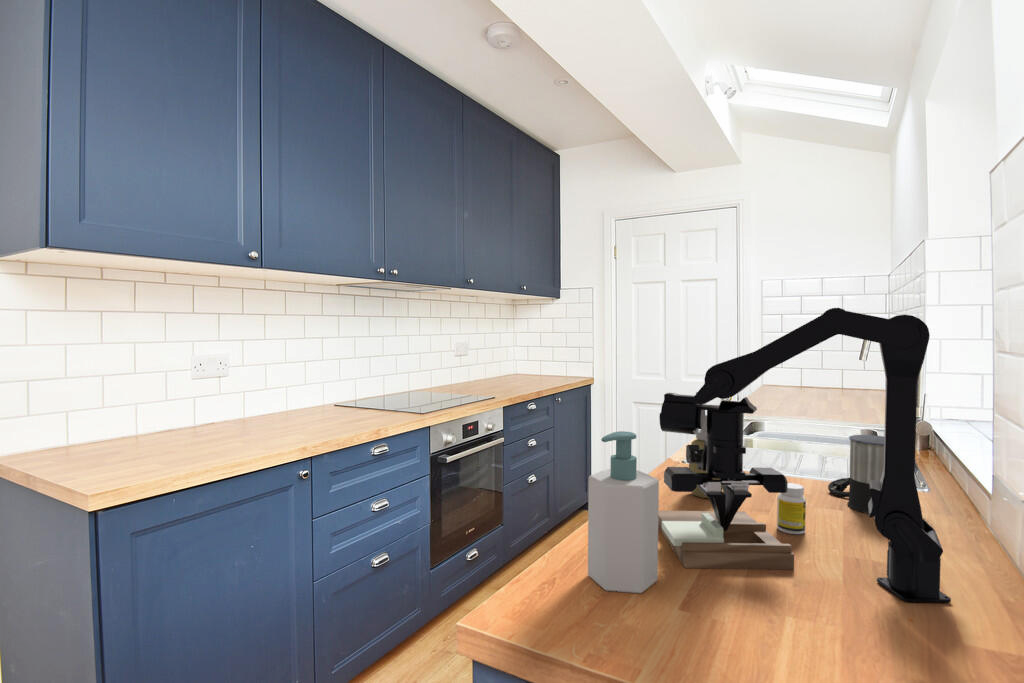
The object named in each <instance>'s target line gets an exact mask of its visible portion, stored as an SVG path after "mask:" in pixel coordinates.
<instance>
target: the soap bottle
mask: <svg viewBox="0 0 1024 683" xmlns="http://www.w3.org/2000/svg"><path fill="white" fill-rule="evenodd" d="M636 439H637V434H636V433H635V432H632V431H631V432H630V431H623V430H622V431H620V430H619V431H614V432H611V433H609V434H607V435H604V436H603V437H602V438H601V439H600V440H601V442H603V443H608V442H613V441H615V454H612V455H610V469H609V468H605V469H603V470H600V471H598V472H596V473H593V474H591V475H589V476H588V501H587V502H588V503H587V504H588V506H587V508H588V509H587V511H588V512H587V516H588V518H587V520H588V522H587V527H588V528H587V542H588V543H587V575H588V577H589V578H590V579H592V580H593V581H594V582H595V583H596V584H598V585H599V586H600V587H601V588H602V589H603V590H604V591H606V592H616V591H617V592H618V593H629V594H630V593H631V594H642V593H643V592H644V591H646V590H647V589H648V588H649V587H651V586H653V584H654V583H656V582H657V581H658V578H659V577H658V575H659V572H658V570H659V569H658V567H659V565H658V564H659V562H658V560H659V559H658V558H659V528H658V511H659V506H660V504H659V500H660V499H659V497H660V494H659V493H660V491H659V490H660V489H659V488H660V487H659V486H660V483H659V482H660V481H659V479H658V478H656V477H654V476H652V475H650V474H647V473H646V472H643V471H640V470H637V458H638V457H637V456H636V455H632V440H636Z"/></svg>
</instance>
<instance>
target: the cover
mask: <svg viewBox="0 0 1024 683" xmlns="http://www.w3.org/2000/svg"><path fill="white" fill-rule="evenodd" d="M662 529H663V531H664V532H665V534H666V535H667V537H668V538H669V540H670V541H671V543H672V544H673V546H682V542H687V543H724V539H723V528H722V527H721V525H720V524H719V523H718V522H717V521H716V520H715V519H714V518H713V517H712V516H711V515H710V514H709V513H702V521H662Z"/></svg>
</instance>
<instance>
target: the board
mask: <svg viewBox="0 0 1024 683" xmlns="http://www.w3.org/2000/svg"><path fill="white" fill-rule="evenodd" d="M702 513H709V514H710V515H711V516H712V517H713V518H714V519H715V520H716V521H717V519H716V516H715V513H714V510H658V530H659V531H660V533H661V534H662V535H663V537H664V539H665V538H666V539H665V540H666V542H667V541H668V542H667V543H668V544H670V545H669V546H670V548H671V549H672V551H673V552H674V554H675V555H676V557H677V558H678V559H679V562H680V563H681V564H682V566H683V567H684V569H725V570H727V569H730V570H731V569H733V570H735V569H736V570H741V569H742V570H746V569H747V570H795V553H793V552H792V550H793V549H792V548H793V546H792V545H791V544H790V543H781V541H779V540H778V539H777V538H776V537H775V536H774V535H772V534H771V533H770V532H769V531H768V530H767V524H766V523H765V522H757V520H755V519H754V518H753V517H752V516H750V515H749V514H748V513H747V512H746V511H739V510H738V511H737V512H736V514H735V516H734V518H733V520H732V522H731V524H730V526H729V527H728V529H727V531H723V539H724V543H687V542H682V546H673V544H672V543H671V541H670V540H669V538H668V537H667V535H666V534H665V532H664V531H663V529H662V521H702Z"/></svg>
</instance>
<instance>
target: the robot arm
mask: <svg viewBox="0 0 1024 683" xmlns="http://www.w3.org/2000/svg"><path fill="white" fill-rule="evenodd" d="M837 335H842V336H847V337H850V338H856V339H859V340H864V341H867V342H868V341H869V342H873V343H877V344H878V343H879V350H880V355H881V360H882V364H883V370H884V376H885V399H884V400H885V401H884V405H885V406H884V407H885V408H884V469H883V473H882V476H881V479H880V482H878V481H874V480H871V479H870V480H869V484H870V492H871V499H870V501H869V503H868V508H869V513H868V517H869V518H871V519H872V518H873V519H874V525H875V527H876V529H877V531H878V532H879V533H880V534H881V536H882V537H884V538H885V539H886V540H888V544H887V545H888V548H887V552H886V553H887V554H886V555H887V556H886V557H887V558H886V577H876V582H877V583H879V584H880V585H882V586H883V587H884V588H885V589H886V590H888V591H890V592H891V593H892V594H894V595H895V596H896V597H898V598H899V599H900V600H902V601H903V602H907V603H908V602H909V603H910V602H911V603H951V602H952V598H951V597H950V596H948V595H946V594H945V593H943V592H942V591H941V590H940V588H941V564H942V563H941V560H942V559H941V556H942V555H943V553H944V549H943V547H942V544H941V542H940V539H939V537H938V534H937V532H936V530H935V529H934V528H933V527H932V525H931V524H930V523H928V521H926V519H924V517H923V514H922V507H921V502H920V501H921V500H920V496H919V491H918V488H917V487H918V486H917V482H916V478H915V476H916V474H915V471H916V444H917V442H916V440H917V407H918V406H917V405H918V403H917V402H918V401H917V400H918V398H917V397H918V380H919V376H920V373H921V370H922V367H923V364H924V361H925V357H926V354H927V349H928V346H929V343H930V342H929V341H930V336H931V335H930V330H929V327H928V325H927V324H926V322H924V321H923V320H922V319H921V318H919V317H917V316H914V315H910V314H900V315H894V316H892V317H889V318H887V317H886V318H885V317H880V316H876V315H870V314H864V313H860V312H855V311H854V312H853V311H848V310H845V309H844V308H840V307H832V308H829V309H827V310H826V311H824V312H823V313H822V314H821V315H819V316H818V317H815V318H814V319H812V320H810V321H809V322H808V321H807V322H806V323H804V324H802V325H801V326H799V327H797V328H795V329H793V330H792V331H789V332H788V333H786V334H785V335H782V336H780V337H778V338H777V339H775V340H773V341H772V342H769V343H767V344H766V345H764V346H762V347H760V348H758V349H756V350H754V351H751V352H749V353H747V354H743V355H740V356H738V357H735V358H732V359H729V360H728V359H727V360H726V361H723V362H719V363H716V364H715V365H712V366H711V367H710V368H708V369H707V370H706V372H705V376H704V380H703V381H704V384H703V385H702V386H701V387H700V389H699V390H698V391H696V392H695V395H690V394H678V393H675V392H666V393H664V394H663V397H664V398H663V402H662V405H661V408H660V409H661V411H660V413H659V425H660V429H661V431H662V432H668V433H674V434H675V433H677V434H685V435H695V436H696V434H697V432H698V430H701V429H703V428H704V425H705V415H707V440H705V442H704V448H703V449H700V448H699V445H691V444H687V445H686V448H685V449H686V450H685V458H686V459H685V460H686V463H687V464H689V463H697V469H700V470H703V471H706V473H694V472H693V471H692V470H690V469H689V466H667V467H666V468H665V470H664V472H663V483H664V484H665V485H666V486H667V487H668V489H670V490H671V491H672V492H675V493H678V492H679V493H692V491H693V490H694V489H695V488H696V487H697V485H698V488H699V489H700V490H701V491H702V492H703V493H704V494H705V495H706V496H707V497H709V498H708V499H709V503H711V506H712V509H713V510H712V511H714V513H715V516H716V519H717V522H718V523H719V524H720V525H721V527H722V528H723V531H727V529H728V527H729V526H730V524H731V522H732V520H733V518H734V516H735V514H736V512H737V511H739V509H740V508H741V506H742V505H743V503H744V502H745V501H746V499H747V498H749V499H750V498H752V497H753V495H752V493H751V492H750V491H749V488H750V487H749V486H763V488H764V489H765V491H767V492H768V493H771V494H774V493H775V494H780V493H786V492H787V486H788V483H789V482H788V479H787V477H786V476H785V475H784V473H781V472H779V471H778V470H777V469H774V468H773V467H751V469H749V473H746V472H745V471H744V470H743V468H744V467H743V466H744V459H743V458H744V455H746V454H747V453H746V452H747V449H746V448H747V447H745V446H744V420H745V419H744V417H745V416H744V414H749V415H750V414H751V415H753V414H755V412H756V411H757V410H758V407H756V406H755V405H754V404H753V403H751V401H750V400H749V398H748V396H747V397H746V396H745V397H743V398H742V399H741V400H740V401H736V400H735V401H734V400H727V399H729V398H732V397H735V396H736V395H738V394H739V393H741V392H742V391H744V390H745V389H746V388H747V387H749V386H750V385H751V384H753V383H754V382H755V381H756V380H758V379H759V378H761V376H763V375H764V374H766V373H767V372H769V370H771V369H773V368H775V367H776V366H778V365H781V364H783V363H784V362H786V361H788V360H791V359H792V358H795V357H796V356H797V355H800V354H802V353H804V352H806V351H808V350H810V349H811V348H813V347H815V346H817V345H819V344H821V343H823V342H825V341H827V340H829V339H830V338H833V337H835V336H837ZM716 398H717V399H718V398H719V399H721V401H720V402H719V404H708V403H709V402H711V401H713V400H715V399H716ZM712 478H714V479H712ZM721 485H722V487H723V489H722V491H721Z"/></svg>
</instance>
